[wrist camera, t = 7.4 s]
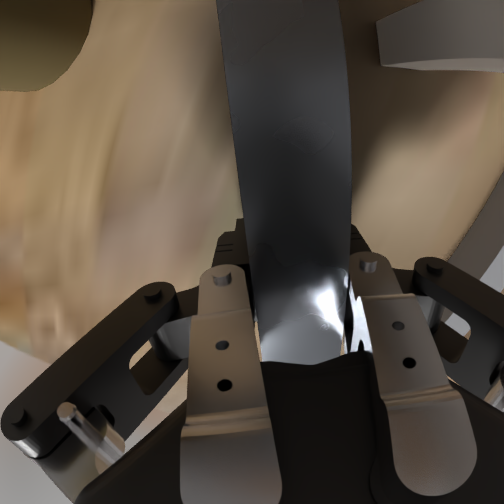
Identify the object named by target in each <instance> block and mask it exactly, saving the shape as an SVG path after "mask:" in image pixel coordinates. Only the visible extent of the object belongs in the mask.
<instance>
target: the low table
mask: <svg viewBox="0 0 504 504" xmlns="http://www.w3.org/2000/svg"><path fill="white" fill-rule="evenodd" d="M376 27H377V35H378V44H379V53H380V63H381V66H389V67H399V68H407V69H415V70H469V71H488V72H501V73H504V0H423V1H420V2H418V3H416V4H413V5H411V6H409V7H406V8H404V9H402V10H400V11H397V12H395V13H393V14H391V15H389V16H387V17H384V18H382V19H380V20H378V21H376Z"/></svg>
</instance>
